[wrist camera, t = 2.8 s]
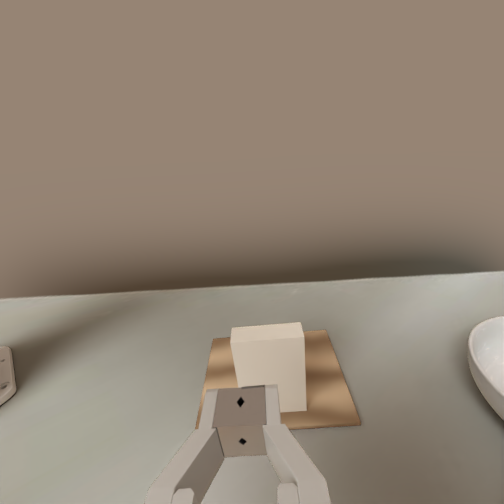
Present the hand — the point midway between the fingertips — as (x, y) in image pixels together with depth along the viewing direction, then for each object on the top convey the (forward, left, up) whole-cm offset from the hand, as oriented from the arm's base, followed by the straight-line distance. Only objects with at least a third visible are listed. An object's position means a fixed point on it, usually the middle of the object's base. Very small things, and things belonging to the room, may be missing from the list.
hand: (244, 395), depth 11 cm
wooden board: (-16, +12, -22) cm, 30 cm away
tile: (-12, +9, -22) cm, 27 cm away
